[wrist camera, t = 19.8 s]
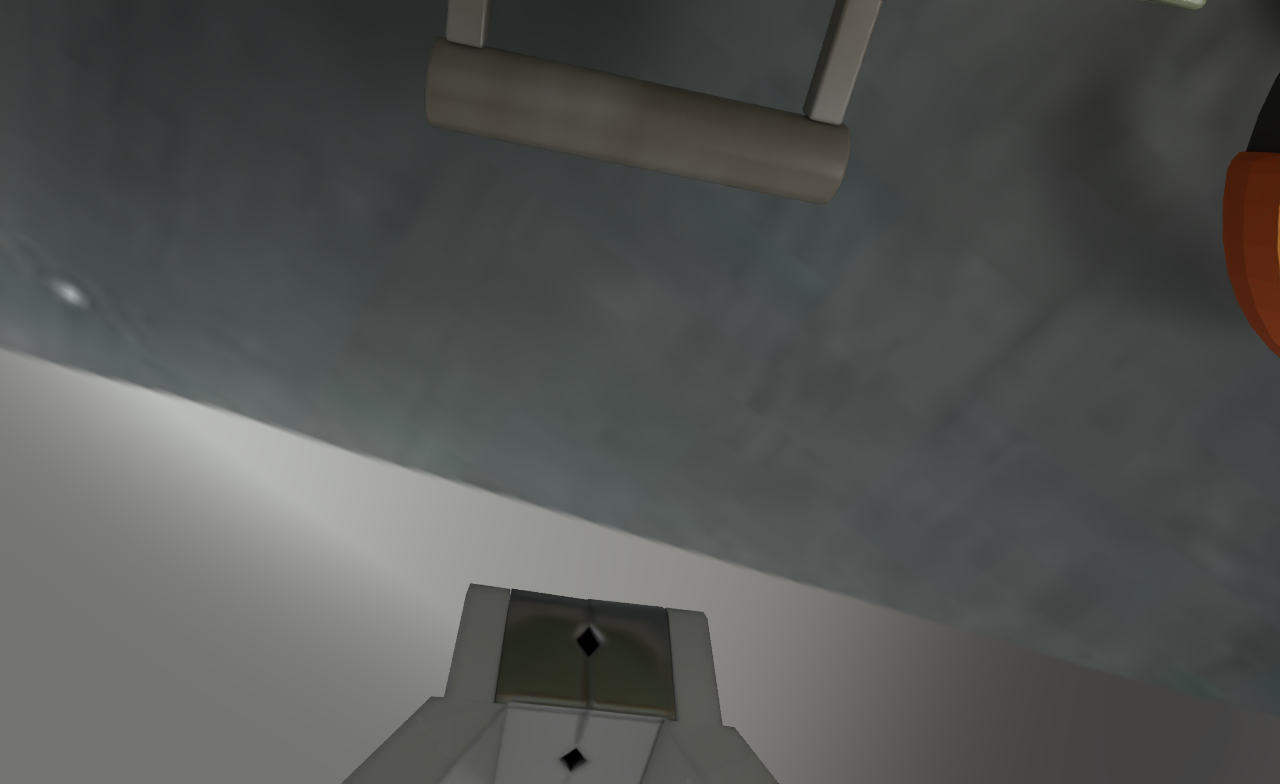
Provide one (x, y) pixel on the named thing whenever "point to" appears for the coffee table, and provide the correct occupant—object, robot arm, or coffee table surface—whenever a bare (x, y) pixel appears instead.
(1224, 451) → the coffee table surface
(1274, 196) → the headphones
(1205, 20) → the coffee table surface
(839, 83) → the drawer
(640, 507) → the coffee table surface
